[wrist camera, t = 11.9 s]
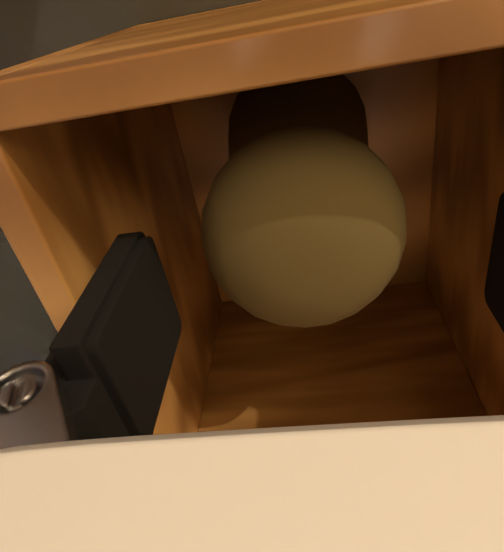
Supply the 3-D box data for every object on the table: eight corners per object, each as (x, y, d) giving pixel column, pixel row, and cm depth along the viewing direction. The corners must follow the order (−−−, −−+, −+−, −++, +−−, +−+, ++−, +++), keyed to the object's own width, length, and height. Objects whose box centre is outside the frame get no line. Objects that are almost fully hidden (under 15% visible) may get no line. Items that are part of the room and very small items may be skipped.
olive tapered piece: (285, 222, 22) (282, 395, 12) (199, 125, 19) (117, 248, 10) (394, 143, 19) (493, 284, 10) (310, 21, 17) (335, 58, 8)
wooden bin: (136, 25, 18) (-75, 94, 7) (460, -39, 16) (791, -68, 6) (213, 305, 26) (164, 531, 15) (436, 283, 24) (554, 521, 14)
